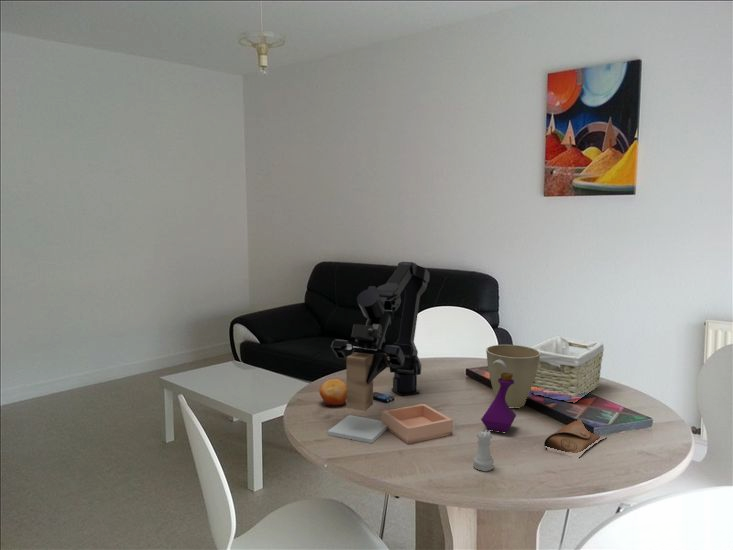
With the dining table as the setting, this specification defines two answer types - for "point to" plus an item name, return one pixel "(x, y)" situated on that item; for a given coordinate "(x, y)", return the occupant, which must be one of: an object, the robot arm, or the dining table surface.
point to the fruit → (334, 392)
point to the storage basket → (568, 366)
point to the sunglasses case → (571, 438)
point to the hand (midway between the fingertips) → (357, 381)
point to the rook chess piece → (483, 452)
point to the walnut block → (359, 381)
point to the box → (417, 423)
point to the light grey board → (358, 429)
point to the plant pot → (513, 370)
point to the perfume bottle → (500, 406)
